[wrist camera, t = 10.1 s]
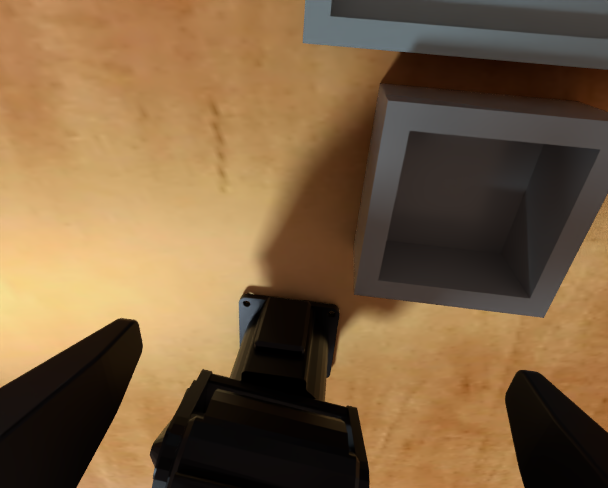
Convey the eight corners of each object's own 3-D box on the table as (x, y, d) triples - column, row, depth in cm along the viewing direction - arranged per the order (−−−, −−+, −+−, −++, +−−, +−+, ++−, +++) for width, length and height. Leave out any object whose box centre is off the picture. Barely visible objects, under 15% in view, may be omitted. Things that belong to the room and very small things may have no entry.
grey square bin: (509, 265, 22) (543, 317, 18) (353, 247, 23) (354, 294, 19) (577, 101, 17) (643, 124, 14) (379, 83, 18) (387, 100, 14)
